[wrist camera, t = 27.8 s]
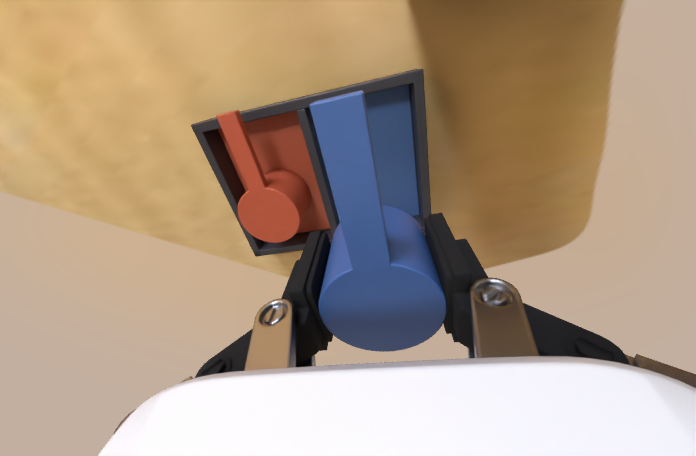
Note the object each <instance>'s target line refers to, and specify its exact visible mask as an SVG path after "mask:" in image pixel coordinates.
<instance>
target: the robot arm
mask: <svg viewBox="0 0 696 456" xmlns="http://www.w3.org/2000/svg"><path fill="white" fill-rule="evenodd" d="M424 226H425V237H426V240H427V243H428V246H429V249H430V252H431V255H432V258H433V261H434V264H435V267H436V270H437V273H438V276H439V279H440V282H441V285H442V288H443V291H444V294H445V297H446V308H447V314H446V317H445V320H444V322H443V324H444V327H445V331H446V333H447V334H449V333H452V337H453V340H454V342H460V343H461V344H463V345H464V346H466V347H468V359H448V360H447V359H446V360H428V361H427V360H425V361H406V362H405V361H404V362H384V363H365V364H346V365H328V366H316V364H315V354H316V353H317V352H318V351H321V350H327V346H328V342H331V341H332V338H333V334H332V333H331V332H330V331H329V330H328V329H327V328H326V326H325V325H324V324H323V321H322V319H321V316H320V313H319V307H318V305H319V298H320V293H321V289H322V284H323V280H324V275H325V271H326V266H327V262H328V257H329V253H330V248H331V244H330V241H329V237H328V234H327V233H323V231H322V230H321V231H314V232H310V234H309V237H308V240H307V242H306V245H305V248H304V250H303V253H302V256H301V258H300V260H297V261H296V263H295V265H294V267H293V270H292V273H291V275H290V278H289V280H288V283H287V286H286V288H285V291H284V293H283V296H282V298H281V299H276V300H273V301H270V302H268V303H267V304H265V305H264V306H263V307H262V308H261V309H260V310H259V311H258V313H257V315H256V317H255V321H254V326H253V329H252V330H250V331H249V332H247V333H246V334H245V335H243V336H242V337H240V338H239V339H238V340H236V341H235V342H234V343H232V344H231V345H229V346H228V347H226V348H225V349H224V350H222V351H221V352H220V353H218V354H217V355H215V356H214V357H212V358H211V359H210V360H208V361H207V362H206V363H205V364H204V365H203V366H202V367H201V369H200V370H199V371H198V373H197V375H196V377H195V378H194V379H193V378H192V377H191V376H190V377H189V378H187V379H186V380H184V381H182V382H180V383H179V384H177V385H174V386H172V387H170V388H168V389H165V390H163V391H161V392H160V393H158V394H156V395H154V396H153V397H151V398H149V399H148V400H146V401H145V402H144V403H143V404H141V405H140V406H139V407H138V408H137V409H135V410H134V411H133V412H131V413H130V414H128V416H126V417H125V418H124V420H123V421H122V422H121V423H120V424H119V426H118V427H117V429H116V430H115V432H114V434H113V437H112V438H111V439H110V440H109V442H108V443H107V444H106V445H105V447H104V448H103V449H102V451H101V452H100V454H99V455H98V456H696V374H693V373H690V372H687V371H684V370H681V369H678V368H675V367H672V366H669V365H667V364H664V363H661V362H658V361H655V360H652V359H649V358H646V357H643V356H640V355H638V354H636V356H635V358H633V357H631V356H628V355H625V354H624V353H623V352H622V351H621V349H620V348H619V347H617V346H616V345H615V344H613V343H612V342H611V341H609V340H607V339H605V338H603V337H602V336H600V335H597V334H595V333H593V332H590V331H588V330H586V329H583V328H581V327H579V326H576V325H574V324H572V323H569V322H567V321H564V320H562V319H560V318H557V317H555V316H553V315H550V314H548V313H546V312H543V311H541V310H539V309H536V308H534V307H531V306H529V305H527V304H524V303H522V299H521V296H520V294H519V292H518V290H517V289H516V288H515V287H514V286H513V285H512V284H510V283H508V282H506V281H504V280H501V279H497V278H488V276H487V275H486V273H485V271H484V269H483V267H482V266H481V264H480V262H479V260H478V259H477V257H476V255H475V253H474V252H473V250H472V248H471V246H470V245H469V243H468V241H467V240H466V239H460V240H455V238H454V236H453V234H452V232H451V230H450V228H449V226H448V224H447V222H446V220H445V218H444V216H443V214H442V213H438V214H431V215H428V218H425V219H424Z"/></svg>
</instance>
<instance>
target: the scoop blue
mask: <svg viewBox="0 0 696 456" xmlns="http://www.w3.org/2000/svg"><path fill="white" fill-rule="evenodd" d="M310 110H311V114H312V118H313V122H314V126H315V129H316V133H317V137H318V141H319V145H320V148H321V152H322V156H323V160H324V164H325V167H326V171H327V175H328V179H329V182H330V186H331V190H332V194H333V198H334V201H335V205H336V209H337V213H338V217H339V220H340V224H339V225H338V227H337V228H336V230H335V232H334V235H333V239H332V244H331V248H330V253H329V257H328V262H327V266H326V271H325V275H324V280H323V284H322V289H321V293H320V298H319V305H318V307H319V313H320V316H321V319H322V321H323V324H324V325H325V326H326V328H327V329H328V330H329V331H330V332H331V333H332V334H333V335H334V336H335V337H337V338H338V339H340V340H341V341H343V342H345V343H347V344H349V345H352V346H354V347H357V348H361V349H365V350H371V351H396V350H402V349H407V348H410V347H413V346H416V345H418V344H420V343H422V342H424V341H426V340H427V339H429V338H430V337H432V336H433V335H434V334H435V333H436V332H437V331H438V330H439V329H440V327H441V326H442V324H443V322H444V320H445V317H446V314H447V308H446V297H445V294H444V291H443V288H442V285H441V282H440V279H439V276H438V273H437V270H436V267H435V264H434V261H433V258H432V255H431V252H430V249H429V246H428V243H427V240H426V237H425V234H424V231H423V229H422V227H421V226H420V224H419V223H418V222H417V221H416V220H415V219H414V218H413V217H412V216H411V215H409V214H408V213H406V212H404V211H402V210H400V209H397V208H394V207H390V206H382V201H381V195H380V189H379V183H378V177H377V171H376V164H375V158H374V152H373V146H372V140H371V133H370V127H369V121H368V115H367V109H366V103H365V96H364V92H363V91H362V90H360V91H356V92H352V93H347V94H343V95H339V96H335V97H331V98H326V99H322V100H318V101H315V102H313V103H311V104H310Z"/></svg>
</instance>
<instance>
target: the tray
mask: <svg viewBox="0 0 696 456" xmlns="http://www.w3.org/2000/svg"><path fill="white" fill-rule="evenodd" d="M360 90H362V91H363V92H364V96H365V103H366V109H367V115H368V121H369V127H370V133H371V140H372V146H373V152H374V158H375V164H376V171H377V177H378V183H379V189H380V195H381V201H382V206H390V207H394V208H397V209H400V210H402V211H404V212H406V213H408V214H409V215H411V216H412V217H413V218H414V219H415V220H416V221H417V222H418V223H419V224H420V226H421V227H422V229H423V231H424V233H425V226H424V219H425V218H428V215H431V202H430V183H429V165H428V147H427V128H426V110H425V92H424V74H423V69H415V70H411V71H406V72H402V73H398V74H394V75H390V76H386V77H382V78H377V79H373V80H369V81H365V82H361V83H357V84H353V85H349V86H344V87H340V88H336V89H332V90H328V91H324V92H320V93H316V94H311V95H307V96H303V97H299V98H295V99H291V100H287V101H283V102H278V103H274V104H270V105H266V106H262V107H258V108H254V109H250V110H245V111H241V112H239V113H240V115H241V118H242V120H243V123H244V125H245V128H246V130H247V133H248V135H249V138H250V140H251V143H252V145H253V148H254V151H255V153H256V156H257V158H258V161H259V163H260V166H261V168H262V171H263V173H264V174H265V173H266V172H268V171H270V170H272V169H278V168H282V169H288V170H291V171H293V172H295V173H297V174H298V175H300V176H301V177H302V178H303V179H304V180H305V182H306V183H307V185H308V187H309V190H310V195H311V199H310V204H309V206H308V208H307V211H306V213H305V215H304V217H303V220H302V222H301V224H300V227H299V229H298V231H297V232H296V234H295V235H294V236H293V237H292V238H290V239H288V240H286V241H283V242H278V243H271V242H266V241H263V240H260V239H258V238H256V237H254V236H253V235H251V234H250V233H249V232H248V231H247V230H246V229H245V228H244V227H243V225H242V223H241V222H240V219H239V216H238V203H239V201H240V199H241V197H242V196H243V195H244V194H245V193H246V192H247V191H248V187H247V185H246V183H245V181H244V178H243V176H242V174H241V172H240V169H239V167H238V165H237V162H236V160H235V158H234V156H233V153H232V151H231V149H230V147H229V144H228V142H227V140H226V137H225V135H224V133H223V131H222V128H221V126H220V124H219V122H218V119H217V118H212V119H209V120H205V121H202V122H199V123H196V124H192V125H191V127H192V129H193V131H194V133H195V135H196V137H197V139H198V141H199V143H200V145H201V147H202V149H203V151H204V153H205V155H206V157H207V159H208V161H209V163H210V165H211V167H212V169H213V171H214V173H215V175H216V177H217V179H218V181H219V183H220V185H221V187H222V189H223V191H224V193H225V195H226V197H227V199H228V201H229V203H230V206H231V208H232V210H233V212H234V214H235V216H236V218H237V220H238V222H239V224H240V226H241V228H242V230H243V232H244V234H245V236H246V238H247V240H248V242H249V244H250V246H251V248H252V250H253V252H254V254H255V256H262V255H270V254H277V253H284V252H292V251H299V250H304V248H305V245H306V242H307V240H308V237H309V234H310V232H314V231H321V230H322V231H323V233H327V234H328V237H329V241H330V244H332V239H333V235H334V232H335V230H336V228H337V227H338V225H339V224H340V220H339V217H338V213H337V209H336V205H335V201H334V198H333V194H332V190H331V186H330V182H329V179H328V175H327V171H326V167H325V164H324V160H323V156H322V152H321V148H320V145H319V141H318V137H317V133H316V129H315V126H314V122H313V118H312V114H311V110H310V104H311V103H313V102H315V101H318V100H322V99H326V98H331V97H335V96H339V95H343V94H347V93H352V92H356V91H360Z"/></svg>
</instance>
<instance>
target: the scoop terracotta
mask: <svg viewBox="0 0 696 456" xmlns="http://www.w3.org/2000/svg"><path fill="white" fill-rule="evenodd" d="M216 117H217V119H218V122H219V124H220V126H221V128H222V131H223V133H224V135H225V137H226V140H227V142H228V144H229V147H230V149H231V151H232V153H233V156H234V158H235V160H236V162H237V165H238V167H239V169H240V172H241V174H242V176H243V178H244V181H245V183H246V185H247V187H248V191H247V192H246V193H245V194H244V195H243V196H242V197H241V199H240V201H239V203H238V216H239V219H240V222H241V223H242V225H243V227H244V228H245V229H246V230H247V231H248V232H249V233H250V234H251V235H253V236H254V237H256V238H258V239H260V240H263V241H266V242H271V243H278V242H283V241H286V240H288V239H290V238H292V237H293V236H294V235H295V234H296V232H297V231H298V229H299V227H300V224H301V222H302V220H303V217H304V215H305V213H306V211H307V208H308V206H309V204H310V199H311V195H310V190H309V187H308V185H307V183H306V182H305V180H304V179H303V178H302V177H301V176H300V175H298V174H297V173H295V172H293V171H291V170H288V169H282V168H278V169H272V170H270V171H268V172H266V173H265V174H264V173H263V171H262V168H261V166H260V163H259V161H258V158H257V156H256V153H255V151H254V148H253V145H252V143H251V140H250V138H249V135H248V133H247V130H246V128H245V125H244V123H243V120H242V118H241V115H240V113H239V111H238V110H236V111H232V112H228V113H224V114H220V115H217V116H216Z"/></svg>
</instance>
